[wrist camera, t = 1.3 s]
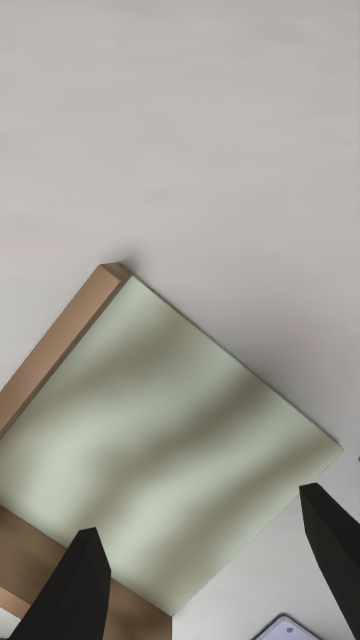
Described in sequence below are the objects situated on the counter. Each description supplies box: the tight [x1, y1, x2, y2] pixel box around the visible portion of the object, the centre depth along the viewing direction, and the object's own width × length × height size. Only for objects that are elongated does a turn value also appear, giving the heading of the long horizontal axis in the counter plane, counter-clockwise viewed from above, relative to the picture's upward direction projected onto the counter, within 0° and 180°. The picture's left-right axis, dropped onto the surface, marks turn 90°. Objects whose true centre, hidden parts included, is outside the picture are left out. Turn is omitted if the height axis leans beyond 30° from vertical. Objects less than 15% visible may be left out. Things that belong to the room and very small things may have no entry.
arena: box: [0, 262, 344, 640], centre depth 20 cm, size 19×19×5 cm
